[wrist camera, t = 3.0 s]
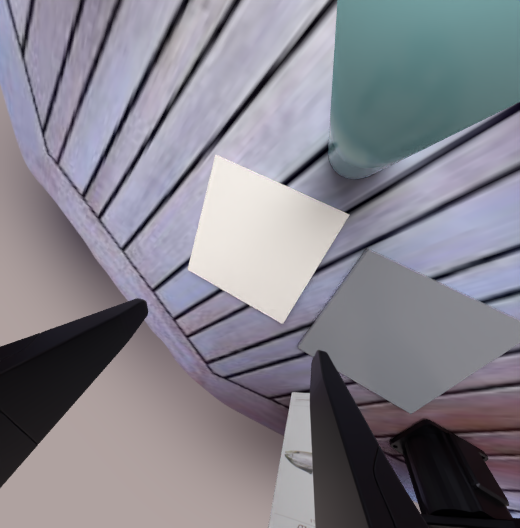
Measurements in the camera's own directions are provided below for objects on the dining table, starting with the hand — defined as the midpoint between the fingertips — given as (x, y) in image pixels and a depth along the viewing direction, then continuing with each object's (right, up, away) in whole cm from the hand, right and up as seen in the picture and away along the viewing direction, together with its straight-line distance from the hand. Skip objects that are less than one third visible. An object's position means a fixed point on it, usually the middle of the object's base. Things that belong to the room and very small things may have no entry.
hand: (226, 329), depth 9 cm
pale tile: (+1, +5, +11) cm, 13 cm away
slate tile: (+15, -4, +10) cm, 19 cm away
